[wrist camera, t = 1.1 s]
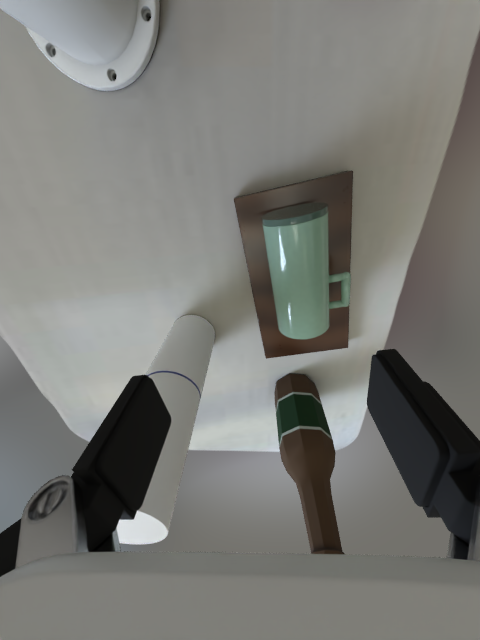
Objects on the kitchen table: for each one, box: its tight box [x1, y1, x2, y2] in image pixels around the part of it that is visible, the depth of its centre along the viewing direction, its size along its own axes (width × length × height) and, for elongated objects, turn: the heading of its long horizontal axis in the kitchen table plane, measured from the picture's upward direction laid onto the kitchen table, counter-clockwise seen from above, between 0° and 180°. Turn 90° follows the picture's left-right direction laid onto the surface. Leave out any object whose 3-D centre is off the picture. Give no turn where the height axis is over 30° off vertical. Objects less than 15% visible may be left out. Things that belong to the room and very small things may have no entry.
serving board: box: [234, 171, 353, 358], centre depth 32 cm, size 24×13×2 cm, turn 12°
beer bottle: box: [275, 374, 344, 554], centre depth 34 cm, size 8×8×24 cm
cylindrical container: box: [116, 315, 215, 544], centre depth 28 cm, size 7×7×25 cm
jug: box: [261, 202, 351, 339], centre depth 27 cm, size 7×9×14 cm
